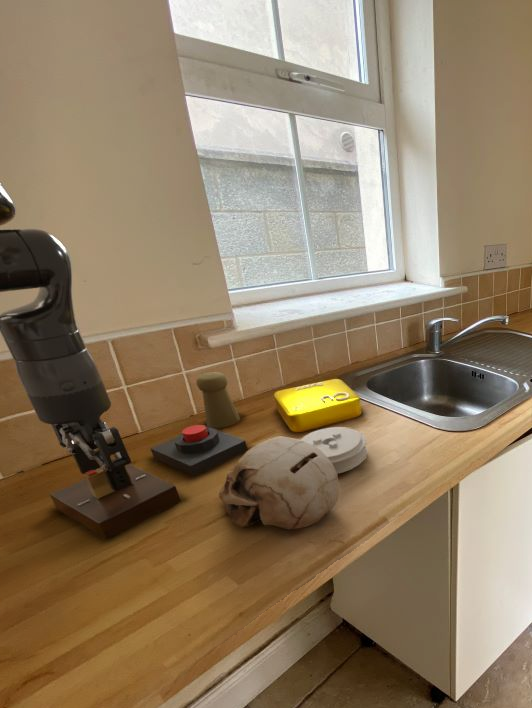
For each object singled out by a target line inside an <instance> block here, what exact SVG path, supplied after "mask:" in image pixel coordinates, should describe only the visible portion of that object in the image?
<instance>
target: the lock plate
mask: <svg viewBox="0 0 532 708" xmlns="http://www.w3.org/2000/svg"><path fill="white" fill-rule="evenodd" d="M126 467H127V470H128V472H129V475H130V477H131V479H132V482H133V483H132V484H130V485H129V486H128V487H125V488H123V489H121V490H119V491H114V492H112V493H110V494H108V495H105V496H103V497H101V498H99V499H97V498H96V497H94V496H93V495H92V493H91V491H90V489H89V486H88V484H87V482H86V480H85V479H83V480H80V481H77V482H75V483H73V484H70V485H68V486H66V487H64V488H61V489H59V490H56V491H53V492H52V493H49V498H51V500H52V503H54V504H53V505H54V506H55V508H56V510H58V511H59V512H61V513H62V514H64V515H66V516H67V517H69V518H71V520H74V521H76V522H77V523H79V524H81V525H83V526H84V527H86V528H87V529H89V530H90V531H93V532H94V533H96V534H97V535H99V536H101V538H102V537H103V538H104V539H105V540H109V539H111V538H112V537H114V536H117V535H118V534H120V533H122V532H124V531H126V530H128V529H129V528H132V527H134V526H135V525H137V524H140V523H141V522H142V521H145V520H146V519H148V518H151V517H153V516H154V515H156V514H158V513H160V512H162V511H164V510H166V509H168V508H170V507H172V506H174V505H175V504H178V503H179V502H181V497H180V494H179V491H178V489H177V486H176V485H175V484H173V483H170V482H168V481H166V480H164V479H162V478H160V477H158V476H156V475H153V474H151V473H149V472H147V471H145V470H143V469H141V468H139V467H136V466H134V465H132V464H131V463H130V464H128V465H126Z"/></svg>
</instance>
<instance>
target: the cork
mask: <svg viewBox="0 0 532 708" xmlns="http://www.w3.org/2000/svg"><path fill="white" fill-rule="evenodd" d="M196 386H197V388H198V389H199V390H200V391H201V392H202V399H203V407H204V414H205V421H206V426H208V427H211V428H214V429H222V428H227V427H230V426H233V425H235V424H237V423H239V421H240V419H241V417H240V414H239V413H238V411H237V409H236V406H235V404H234V402H233V400H232V397H231V395H230V393H229V391H228V389H227V386H228V379H227V377H226V375H225V374H224V373H222V372H219V371H210V372H205V373H203V374H201V375H199V376H198V377H197V379H196Z"/></svg>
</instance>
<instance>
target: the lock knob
mask: <svg viewBox="0 0 532 708" xmlns="http://www.w3.org/2000/svg"><path fill="white" fill-rule="evenodd" d="M125 469H126V471H127V473H128V476H129V478H130V481H131V484H132V483H133V482H132V479H131V477H130V475H129V472H128V470H127V467H126V465H125ZM82 476H83V478H84V480H86V482H87V484H88V486H89V489H90V491H91V493H92V495H93V496H94V497H96V498H97V499H99V498H101V497H103V496H105V495H108V494H110V493H112V492H114V490H112V489H111V487H110V485H109V483H108V480H107V478H106V476H105V473H104V471H103V470H102V469H101V468H99V469H96V470H91V471H88V472H86V473H85V474H82Z"/></svg>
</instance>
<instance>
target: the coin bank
mask: <svg viewBox="0 0 532 708" xmlns="http://www.w3.org/2000/svg"><path fill="white" fill-rule="evenodd" d="M339 485H340V484H339V476H338V474H337V472H336V470H335V468H334V466H333V464H332V462H331V461H330V460H329V459H328V458H327V456H326V455H325V454H324V453H323V452H322V451H321V450H320V449H318V448H317V447H315V446H313V445H310V444H308V443H306V442H303V441H301V439H298V438H293V437H288V436H283V435H282V436H281V435H279V436H278V435H277V436H274V437H270V438H269V439H266V440H263V441H261V442H259V443H257V444H255V445H253V446H252V447H251V448H250V449H248V450H247V451H245V452H244V454H243V455H242V456H241V457H240V458H239V459H238V461H237V462H236V463H235V464H234V466H233V467H232V468H231V469H230V470H229V471H228V472H227V474H226V478H225V482H224V484H223V485H222V486H221V488H220V489H219V491H218V498H219V500H220V501H221V502H222V503H223V504H226V508H225V509H226V512H227V513H228V516H229V519H231V520H232V521H233V522H234V523H235V525H237V526H238V527H240V528H247V527H251V526H252V525H253V524H256V523H257V522H259V521H261V523H262V524H263V525H264V526H276V527H279V528H281V529H285V530H286V531H293V530H298V529H303V528H305V527H306V528H307V527H309V526H313V525H315V524H316V523H317V522H319V521H320V520H321V519H322V518H323V517H324V516H326V515H327V514H328V512H329V511H330V510H332V509H333V508H334V506H335V505H336V503H337V502H338V499H339V495H340V494H339V493H340V486H339Z"/></svg>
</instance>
